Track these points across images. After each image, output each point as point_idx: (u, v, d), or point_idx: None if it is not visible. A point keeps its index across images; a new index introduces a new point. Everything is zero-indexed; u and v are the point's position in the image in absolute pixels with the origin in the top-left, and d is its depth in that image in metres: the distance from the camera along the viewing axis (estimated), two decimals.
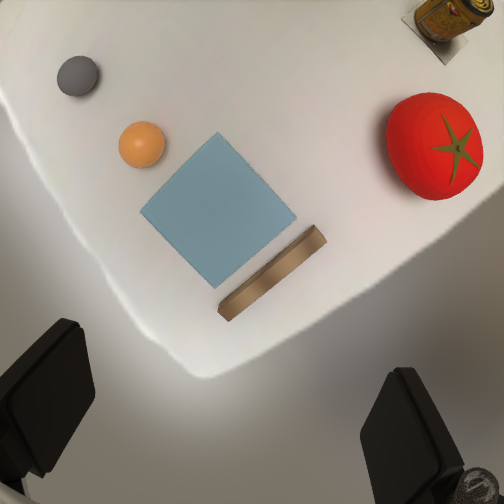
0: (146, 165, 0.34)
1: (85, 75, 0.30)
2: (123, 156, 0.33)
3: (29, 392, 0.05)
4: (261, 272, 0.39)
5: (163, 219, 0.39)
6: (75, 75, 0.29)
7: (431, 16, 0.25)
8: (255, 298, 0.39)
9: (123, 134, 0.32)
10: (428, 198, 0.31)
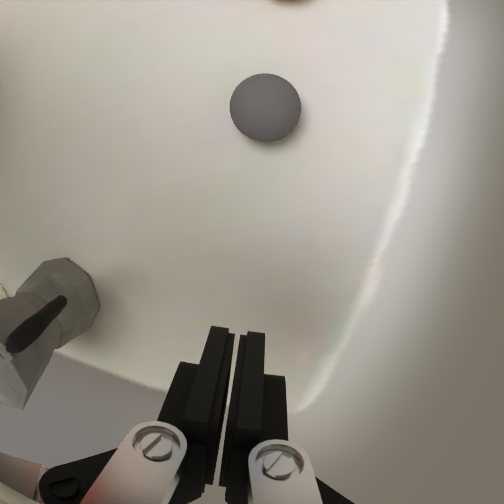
0: None
1: (253, 77, 0.21)
2: None
3: (222, 405, 0.07)
4: None
5: None
6: (260, 84, 0.20)
7: None
8: None
9: None
10: None
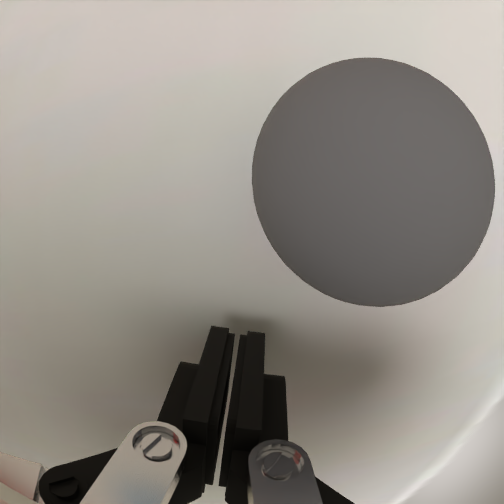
0: None
1: None
2: None
3: (222, 406, 0.07)
4: None
5: None
6: None
7: None
8: None
9: None
10: None
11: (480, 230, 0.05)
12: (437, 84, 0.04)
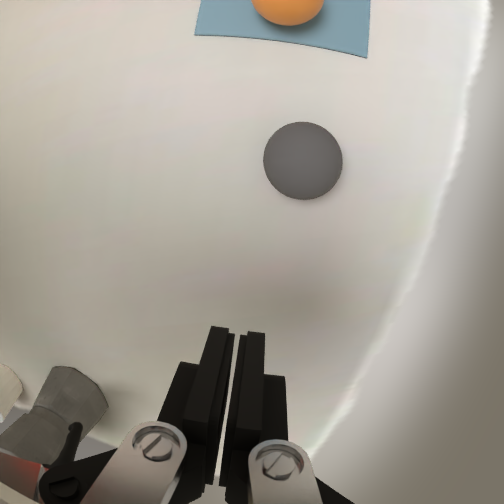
0: (297, 24, 0.19)
1: None
2: None
3: (222, 406, 0.07)
4: None
5: (350, 22, 0.20)
6: None
7: None
8: None
9: None
10: None
11: (328, 170, 0.19)
12: (315, 131, 0.19)
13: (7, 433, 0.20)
